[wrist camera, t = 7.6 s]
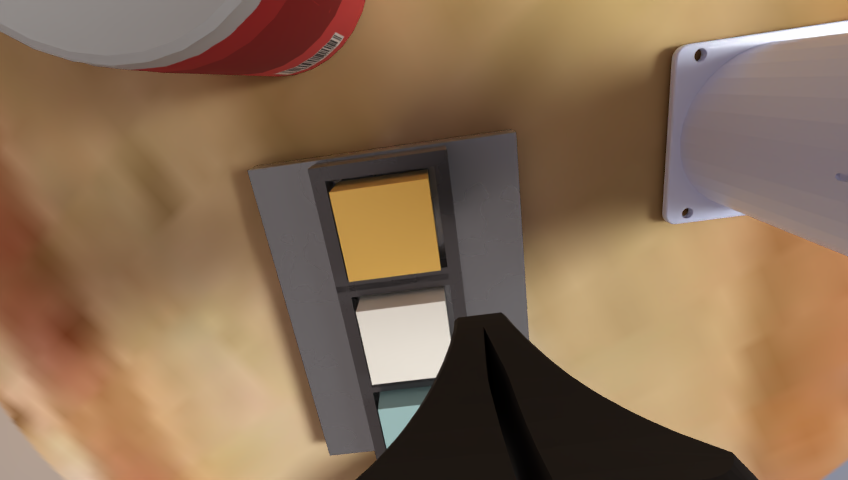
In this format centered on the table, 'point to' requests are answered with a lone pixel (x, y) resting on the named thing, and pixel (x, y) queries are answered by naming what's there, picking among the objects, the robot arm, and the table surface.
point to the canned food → (186, 33)
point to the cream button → (404, 334)
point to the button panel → (338, 298)
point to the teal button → (399, 410)
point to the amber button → (386, 225)
